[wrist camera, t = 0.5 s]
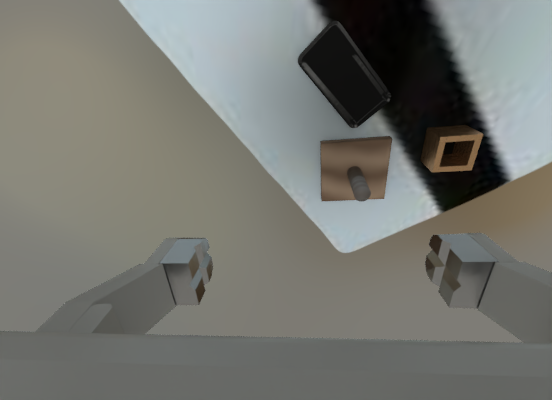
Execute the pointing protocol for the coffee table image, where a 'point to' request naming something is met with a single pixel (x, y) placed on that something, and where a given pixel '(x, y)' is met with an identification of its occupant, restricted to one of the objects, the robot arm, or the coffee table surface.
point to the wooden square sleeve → (462, 151)
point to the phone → (344, 75)
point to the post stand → (354, 168)
